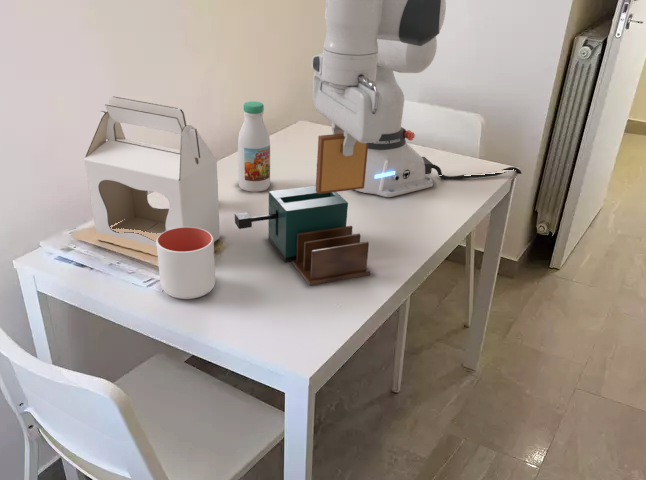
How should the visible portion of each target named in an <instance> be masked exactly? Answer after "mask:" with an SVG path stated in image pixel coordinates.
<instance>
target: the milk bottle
mask: <svg viewBox="0 0 646 480" xmlns="http://www.w3.org/2000/svg"><path fill="white" fill-rule="evenodd" d="M264 106H265V105H264V104H263V102H260V101H246V102H245V103H243V115H244V119H243V122H242V125H241V128H240V130H239V133H238V137H237V173H238V175H237V178H238V180H237V181H238V186H239V188H240V190H244V191H245V192H263V191H266V190H268V189H269V188H270V186H271V139H270V134H269V131H268V129H267V127H266V124H265V121H264V111H265V107H264Z"/></svg>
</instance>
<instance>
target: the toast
mask: <svg viewBox="0 0 646 480" xmlns="http://www.w3.org/2000/svg"><path fill="white" fill-rule="evenodd" d="M317 139H318V141H317V156H316V157H317V159H316V173H315V174H316V176H315V178H316V180H315V185H316V192H317V193H318V194H323V193H331V192H337V193H338V192H347V191H356V190H355V189H364V183H365V173H366V162H367V152H368V143H360V142H359V141H356V143H355V145H354V149H353V155H351V156H344V155H343V154H342V153H341V152H340V151H341V144H343V142H344V139H345V136H344V133H343V134H333V133H332V134H324V135H323V134H322V135H318V138H317Z"/></svg>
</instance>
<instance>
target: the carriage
mask: <svg viewBox="0 0 646 480" xmlns="http://www.w3.org/2000/svg"><path fill="white" fill-rule="evenodd" d="M276 218H278V213H276V214H269V213H268V214H263V215H255V216H251V215H250V214H249V212H247V211H246V212H239V213H234V224H235V225H236V227H237V228H238V230H242V229H249V228H252V227H253V222H261V221H269V219H276Z"/></svg>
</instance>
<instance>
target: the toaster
mask: <svg viewBox="0 0 646 480" xmlns="http://www.w3.org/2000/svg"><path fill="white" fill-rule="evenodd" d="M348 209H349V202H348V201H347V200H346V199H345V198H344V197H342V195H340V194H339V193H338V192H331V193H323V194H318V193H317V192H316V184H315V185H307V186H300V187H293V188H284V189H277V190H276V189H275V190H269V191H268V215H269V214H276V213H278V218H276V219H269V220H268V240H267V241H268V243H270V245H271V246H272V247H273V248H274V250H275V251H276V252H277V253H278V255H279V256H280V257H281V259H282V260H283V261H284V263H289V262H292V260H296V256H297V234H299V233H305V232H312V231H319V230H325V229H332V228H339V227H345V226H347V221H348Z"/></svg>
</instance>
